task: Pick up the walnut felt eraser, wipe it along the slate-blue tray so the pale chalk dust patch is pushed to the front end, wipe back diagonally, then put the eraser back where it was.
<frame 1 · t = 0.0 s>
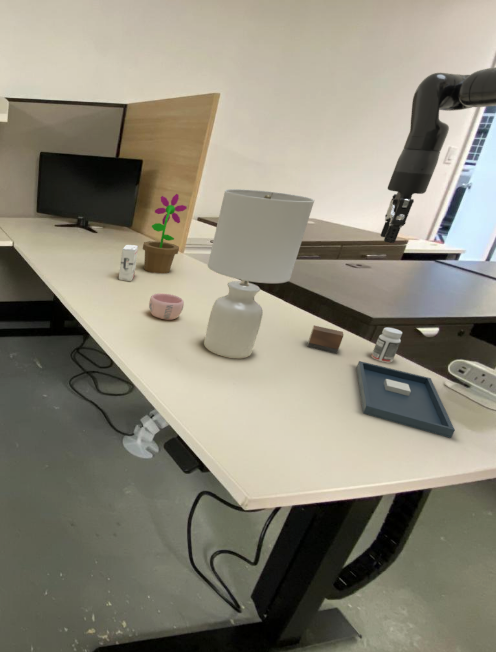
hand: (386, 239, 116), 30 cm above the table, tool pointing down, fingers open, 8 cm apart
pink bowl: (162, 316, 143), on the table
lamp: (226, 350, 122), on the table
ink box: (125, 278, 177), on the table
tray: (397, 399, 104), on the table
flowerpot: (156, 270, 191), on the table
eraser: (321, 348, 127), on the table
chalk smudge: (395, 389, 107), point 1 cm above the table, touching tray
pill bottle: (380, 359, 124), on the table
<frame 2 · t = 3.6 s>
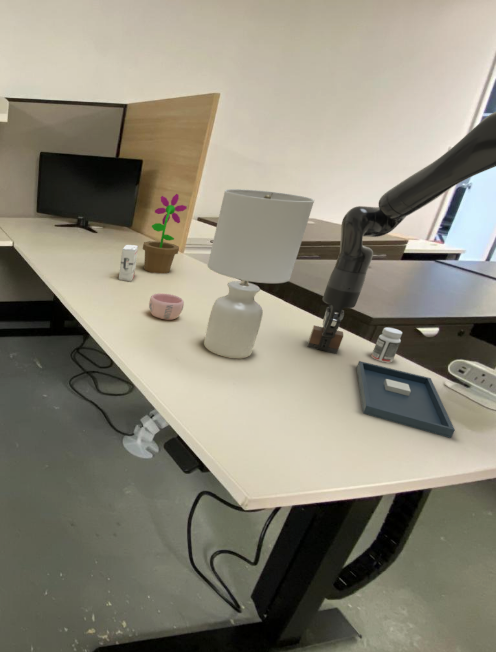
hand: (322, 346, 127), 1 cm above the table, tool pointing down, fingers closed on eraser, 3 cm apart
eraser: (321, 348, 127), on the table, touching gripper
everything else where it was.
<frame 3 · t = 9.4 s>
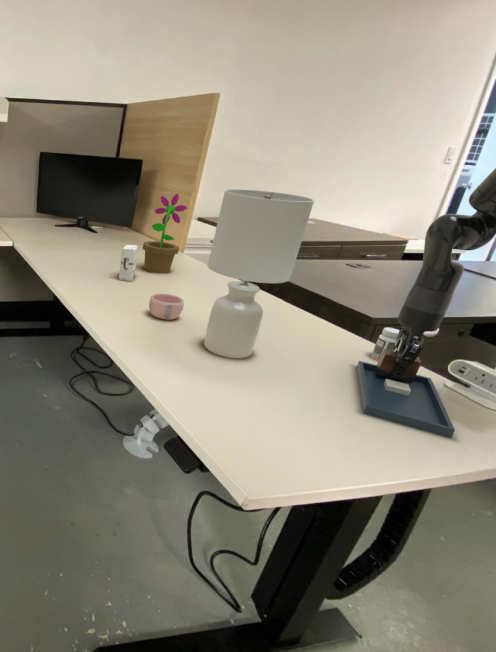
hand: (394, 373, 111), 2 cm above the table, tool pointing down, fingers closed on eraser, 3 cm apart
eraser: (392, 376, 111), point 1 cm above the table, touching gripper
everything else where it was.
when the fingers open (1 cm above the table, at t = 23.8 s): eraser stays where it is, on the table.
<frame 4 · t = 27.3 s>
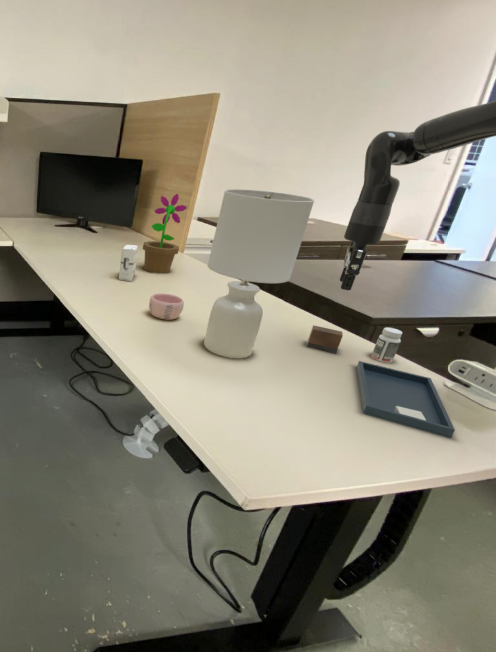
hand: (344, 285, 120), 18 cm above the table, tool pointing down, fingers open, 8 cm apart
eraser: (320, 348, 127), on the table
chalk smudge: (408, 418, 96), point 1 cm above the table, touching tray
everything else where it was.
at the end: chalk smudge inside the target area in the tray (1.0 cm from its centre), point 0.6 cm above the tray's base; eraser 0.2 cm from the target spot, on the table; the gripper is holding nothing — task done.
